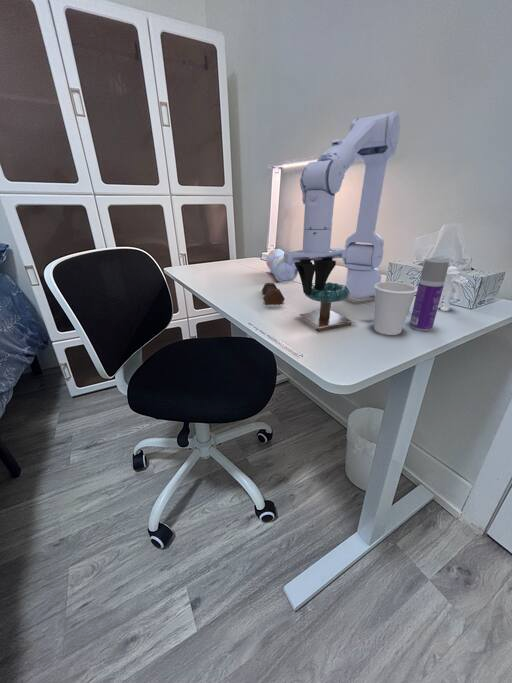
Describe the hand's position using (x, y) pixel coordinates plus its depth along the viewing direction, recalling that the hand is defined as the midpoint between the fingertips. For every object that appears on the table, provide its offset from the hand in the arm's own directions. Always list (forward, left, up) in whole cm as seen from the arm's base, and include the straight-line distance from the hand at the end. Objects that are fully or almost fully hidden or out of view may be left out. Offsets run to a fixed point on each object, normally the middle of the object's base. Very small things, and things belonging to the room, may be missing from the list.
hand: (312, 292), depth 66 cm
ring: (-4, 0, 0) cm, 4 cm away
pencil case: (-16, -46, -8) cm, 50 cm away
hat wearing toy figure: (-38, +5, -8) cm, 39 cm away
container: (-22, +12, -8) cm, 26 cm away
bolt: (0, -21, -8) cm, 22 cm away
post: (-4, 0, -8) cm, 9 cm away
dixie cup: (-14, +10, -8) cm, 19 cm away
